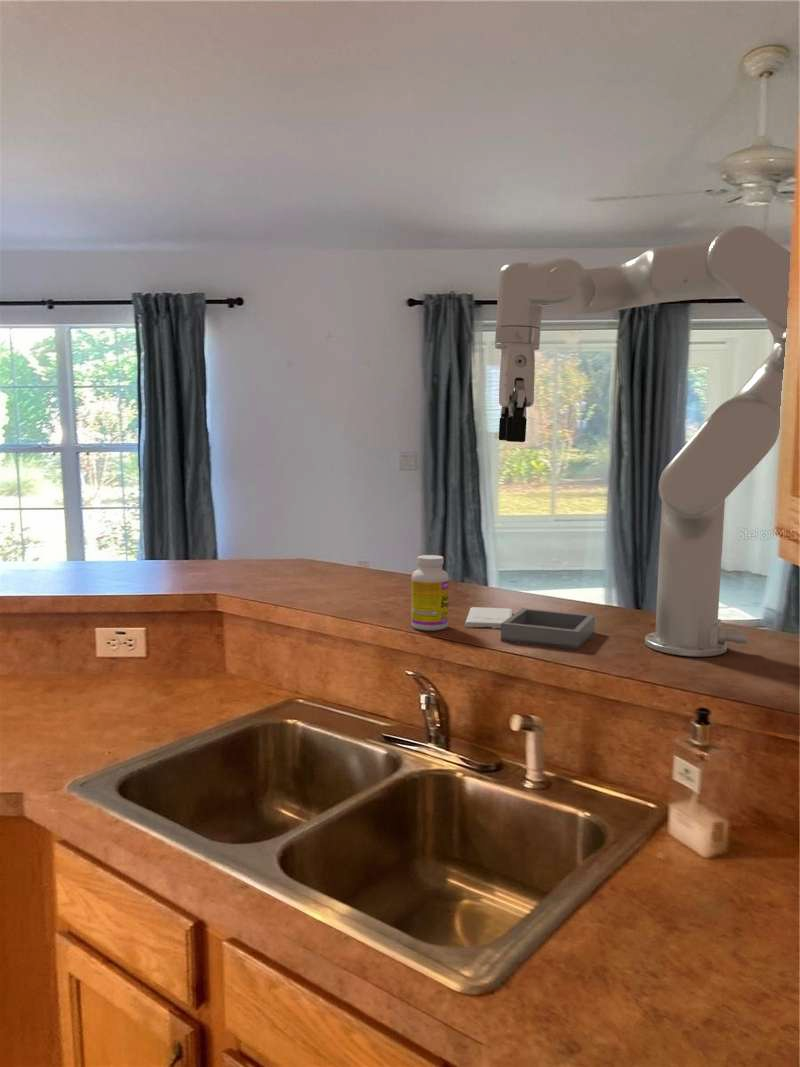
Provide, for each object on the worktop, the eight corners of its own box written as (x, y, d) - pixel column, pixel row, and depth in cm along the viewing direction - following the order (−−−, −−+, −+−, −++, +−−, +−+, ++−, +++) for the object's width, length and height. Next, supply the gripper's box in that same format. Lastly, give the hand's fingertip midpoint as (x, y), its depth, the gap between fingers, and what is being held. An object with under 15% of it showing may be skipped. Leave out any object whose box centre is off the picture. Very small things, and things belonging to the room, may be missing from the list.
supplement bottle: (445, 632, 137) (446, 560, 135) (408, 630, 138) (408, 559, 137) (450, 623, 144) (451, 554, 142) (415, 622, 145) (415, 553, 143)
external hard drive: (512, 616, 152) (510, 631, 140) (470, 615, 153) (464, 629, 141) (512, 608, 152) (510, 623, 140) (470, 606, 153) (465, 621, 141)
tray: (594, 632, 138) (594, 615, 137) (577, 650, 126) (578, 631, 126) (522, 624, 143) (523, 608, 143) (500, 640, 132) (501, 623, 131)
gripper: (549, 335, 124) (541, 443, 127) (531, 345, 141) (525, 441, 144) (501, 333, 124) (495, 441, 127) (489, 344, 141) (484, 439, 144)
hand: (511, 441), depth 135 cm, fingers open, 9 cm apart
